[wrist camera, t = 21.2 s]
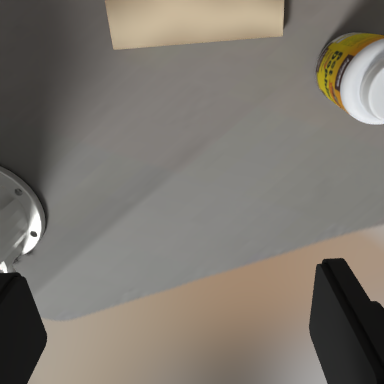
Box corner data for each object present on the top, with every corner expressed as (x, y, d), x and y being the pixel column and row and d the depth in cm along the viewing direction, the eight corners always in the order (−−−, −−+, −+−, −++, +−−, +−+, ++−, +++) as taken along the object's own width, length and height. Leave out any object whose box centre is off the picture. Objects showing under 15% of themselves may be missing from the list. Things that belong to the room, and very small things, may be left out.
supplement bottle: (313, 37, 28) (359, 46, 19) (383, 27, 27) (466, 31, 18) (311, 104, 30) (351, 140, 21) (376, 96, 29) (445, 130, 20)
